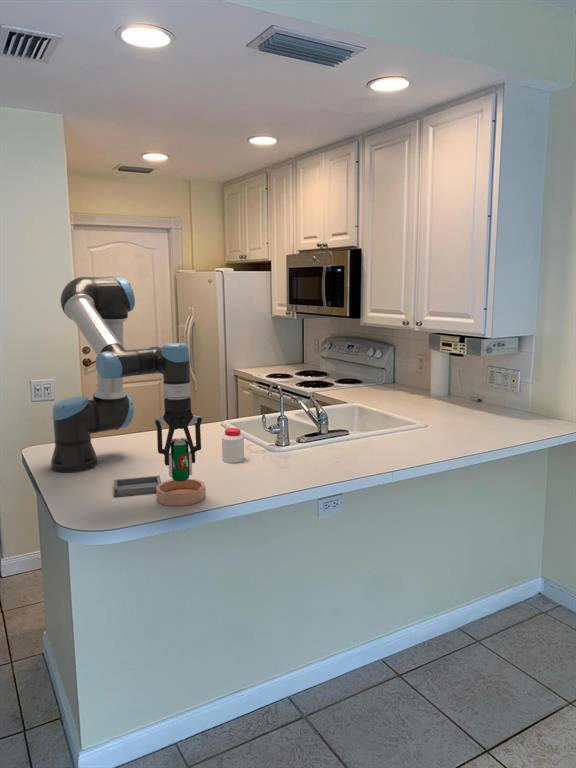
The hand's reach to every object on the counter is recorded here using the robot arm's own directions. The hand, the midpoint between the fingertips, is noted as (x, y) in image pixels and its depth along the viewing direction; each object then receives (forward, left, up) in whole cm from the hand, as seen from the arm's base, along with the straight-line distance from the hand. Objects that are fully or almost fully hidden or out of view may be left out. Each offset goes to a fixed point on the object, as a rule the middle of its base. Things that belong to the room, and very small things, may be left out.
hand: (180, 474), depth 175 cm
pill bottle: (+22, +32, -7) cm, 40 cm away
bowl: (0, 0, -7) cm, 7 cm away
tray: (-12, +11, -7) cm, 18 cm away
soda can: (0, 0, -2) cm, 2 cm away
